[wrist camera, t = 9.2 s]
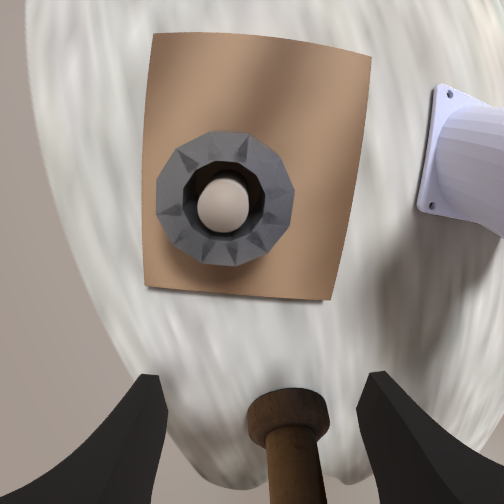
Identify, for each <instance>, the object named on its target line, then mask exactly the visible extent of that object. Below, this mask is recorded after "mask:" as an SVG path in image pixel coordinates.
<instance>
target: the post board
mask: <svg viewBox="0 0 504 504" xmlns="http://www.w3.org/2000/svg"><path fill="white" fill-rule="evenodd" d="M371 59H372V57H370V56H367V55H363V54H359V53H355V52H351V51H347V50H343V49H338V48H334V47H329V46H324V45H319V44H314V43H309V42H303V41H297V40H290V39H283V38H275V37H267V36H257V35H246V34H232V33H204V32H184V33H157V34H153V41H152V48H151V55H150V63H149V72H148V81H147V91H146V102H145V115H144V131H143V152H142V244H143V265H144V281H145V286H152V287H162V288H171V289H181V290H192V291H202V292H213V293H225V294H237V295H250V296H263V297H278V298H294V299H311V300H331V296H332V292H333V288H334V284H335V280H336V276H337V272H338V268H339V263H340V259H341V255H342V250H343V246H344V241H345V236H346V232H347V227H348V222H349V217H350V212H351V207H352V201H353V196H354V190H355V185H356V179H357V173H358V167H359V161H360V154H361V148H362V141H363V133H364V126H365V118H366V110H367V101H368V92H369V82H370V71H371ZM218 129H219V130H232V131H244V132H249V133H251V134H252V135H254V136H255V137H256V138H258V139H259V140H261V141H262V142H263V143H265V144H266V145H268V146H269V147H270V148H272V149H273V150H274V151H275V152H276V153H277V154H278V155H279V156H280V157H281V159H282V162H283V164H284V166H285V169H286V171H287V173H288V176H289V178H290V180H291V183H292V185H293V188H294V190H295V194H294V201H293V208H292V215H291V221H290V227H289V228H288V229H287V230H286V232H285V233H284V234H283V235H282V237H281V238H280V239H279V240H278V242H277V243H276V244H275V245H274V246H273V248H272V249H271V250H270V251H269V253H268V254H265V255H263V256H260V257H258V258H255V259H253V260H251V261H248V262H246V263H243V264H241V265H238V266H225V265H213V264H202V263H200V262H198V261H197V260H195V259H194V258H192V257H191V256H189V255H187V254H186V253H184V252H183V251H181V250H180V249H178V248H177V247H175V246H173V245H172V243H171V241H170V240H169V238H168V236H167V234H166V233H165V231H164V229H163V227H162V225H161V223H160V222H159V220H158V218H157V216H156V179H157V177H158V176H159V174H160V172H161V171H162V169H163V168H164V166H165V164H166V163H167V161H168V160H169V158H170V157H171V155H172V153H173V152H174V150H175V149H176V148H177V147H179V146H181V145H183V144H185V143H187V142H189V141H191V140H193V139H195V138H197V137H199V136H201V135H203V134H205V133H208V132H210V131H214V130H218ZM260 186H261V183H260V181H259V179H258V177H257V175H256V174H254V173H253V172H251V171H250V170H249V169H247V168H246V167H244V166H243V165H241V164H240V163H238V162H228V161H216V160H215V161H213V162H211V163H209V164H207V165H205V166H203V167H201V168H200V170H199V171H198V173H197V182H196V191H197V193H198V195H199V197H200V198H199V201H198V206H197V208H198V214H199V217H200V219H201V221H202V222H203V223H204V225H205V226H207V227H208V228H209V229H211V230H213V231H216V232H230V231H233V230H235V229H237V228H239V227H240V226H241V225H242V224H243V223H244V221H245V220H246V218H247V215H248V211H249V209H250V207H251V206H252V205H253V203H254V202H255V201H256V199H257V198H258V197H259V195H260Z"/></svg>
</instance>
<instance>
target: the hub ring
mask: <svg viewBox="0 0 504 504" xmlns="http://www.w3.org/2000/svg"><path fill="white" fill-rule="evenodd" d="M215 160H216V161H228V162H238V163H240V164H241V165H243V166H244V167H246V168H247V169H249V170H250V171H251V172H253V173H254V174H256V175H257V177H258V179H259V181H260V183H261V186H260V195H259V197H258V198H257V199H256V201H255V202H254V203H253V205H252V206H251V207H250V209H249V211H248V215H247V218H246V220H245V221H244V223H243V224H242V225H241V226H240V227H239V228H237V229H235V230H233V231H230V232H216V231H213V230H211V229H209V228H208V227H207V226H205V225H204V223H203V222H202V221H201V219H200V217H199V214H198V208H197V206H198V201H199V198H200V197H199V195H198V193H197V191H196V182H197V173H198V171H199V170H200V168H201V167H203V166H205V165H207V164H209V163H211V162H213V161H215ZM294 194H295V190H294V188H293V185H292V183H291V180H290V178H289V176H288V173H287V171H286V169H285V166H284V164H283V162H282V159H281V157H280V156H279V155H278V154H277V153H276V152H275V151H274V150H273V149H272V148H270V147H269V146H268V145H266V144H265V143H263V142H262V141H261V140H259V139H258V138H256V137H255V136H254V135H252V134H251V133H249V132H244V131H232V130H219V129H218V130H214V131H210V132H208V133H205V134H203V135H201V136H199V137H197V138H195V139H193V140H191V141H189V142H187V143H185V144H183V145H181V146H179V147H177V148H176V149H175V150H174V152H173V153H172V155H171V157H170V158H169V160H168V161H167V163H166V164H165V166H164V168H163V169H162V171H161V172H160V174H159V176H158V177H157V179H156V216H157V218H158V220H159V222H160V223H161V225H162V227H163V229H164V231H165V233H166V234H167V236H168V238H169V240H170V241H171V243H172V245H173V246H175V247H177V248H178V249H180V250H181V251H183V252H184V253H186V254H187V255H189V256H191V257H192V258H194V259H195V260H197V261H198V262H200V263H202V264H213V265H225V266H238V265H241V264H243V263H246V262H248V261H251V260H253V259H255V258H258V257H260V256H263V255H265V254H268V253H269V251H270V250H271V249H272V248H273V246H274V245H275V244H276V243H277V242H278V240H279V239H280V238H281V237H282V235H283V234H284V233H285V232H286V230H287V229H288V228H289V227H290V221H291V215H292V208H293V201H294Z"/></svg>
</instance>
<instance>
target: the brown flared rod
mask: <svg viewBox="0 0 504 504" xmlns="http://www.w3.org/2000/svg"><path fill="white" fill-rule="evenodd" d="M329 426H330V419H329V414H328V410H327V405H326V402H325V400H324V398H323V397H322V396H321V395H320V394H318V393H316V392H314V391H312V390H308V389H304V388H286V389H281V390H278V391H274V392H270V393H267V394H265V395H263V396H261V397H259V398H258V399H257V400H255V401H254V402H253V403H252V405H251V406H250V408H249V411H248V430H249V436H250V438H251V440H252V441H253V442H254V443H256V444H257V445H259V446H261V447H263V448H265V449H266V451H267V464H268V477H269V491H270V504H327V499H326V493H325V487H324V482H323V476H322V470H321V465H320V459H319V453H318V447H317V442H318V441H319V440H320V438H321V437H323V436H324V435H325V433H326V432H327V431H328V429H329Z"/></svg>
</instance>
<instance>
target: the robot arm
mask: <svg viewBox="0 0 504 504" xmlns="http://www.w3.org/2000/svg"><path fill="white" fill-rule="evenodd" d="M447 91H448V92H449V94H450V97H449V98H448V96H447ZM431 202H432V207H431V208H429V204H430V203H431ZM417 208H418V209H419V210H420V211H421V212H424V213H429V214H434V215H439V216H445V217H450V218H455V219H460V220H465V221H469V222H474V223H479V224H480V225H482V226H484V227H485V228H487V229H489V230H490V231H492V232H494V233H495V234H497V235H498V236H500V237H502V238H503V239H504V108H502V107H491V106H489V105H488V104H486V103H484V102H482V101H480V100H478V99H476V98H474V97H471V96H469V95H467V94H465V93H463V92H461V91H458V90H456V89H454V88H452V87H449V86H447V85H445V84H437V85H436V86H435V88H434V96H433V106H432V115H431V124H430V131H429V139H428V145H427V152H426V158H425V164H424V169H423V175H422V180H421V185H420V190H419V194H418V199H417ZM356 411H357V417H358V423H359V428H360V433H361V436H362V439H363V442H364V445H365V448H366V451H367V455H368V458H369V461H370V464H371V467H372V470H373V473H374V476H375V479H376V484H377V488H378V493H379V499H380V504H504V466H503V465H500V464H498V463H496V462H494V461H492V460H490V459H488V458H486V457H484V456H482V455H481V454H479V453H477V452H476V451H474V450H472V449H471V448H469V447H468V446H466V445H465V444H463V443H462V442H460V441H459V440H458V439H456V438H455V437H453V436H452V435H451V434H450V433H448V432H447V431H446V430H445V429H443V428H442V427H441V426H440V425H439V424H438V423H436V422H435V421H434V420H433V419H432V418H431V417H430V416H429V415H428V414H427V413H426V412H424V411H423V410H422V409H421V408H420V407H419V406H418V405H417V404H416V403H415V402H414V401H413V400H412V399H411V398H410V397H409V395H408V394H407V393H406V392H405V391H404V390H403V389H402V388H401V387H400V386H399V385H398V384H397V383H396V382H395V381H394V380H393V379H392V378H391V377H390V376H389V375H388V374H387V373H386V372H385V371H380V372H372V373H369V376H368V378H367V381H366V384H365V387H364V389H363V392H362V394H361V397H360V400H359V402H358V405H357V407H356ZM167 418H168V409H167V405H166V402H165V398H164V394H163V390H162V387H161V383H160V379H159V375H149V374H141V375H140V376H139V377H138V378H137V380H136V381H135V382H134V384H133V385H132V387H131V388H130V389H129V391H128V392H127V393H126V394H125V396H124V397H123V398H122V400H121V401H120V402H119V404H118V405H117V406H116V407H115V408H114V410H113V411H112V412H111V413H110V414H109V416H108V417H107V418H106V419H105V420H104V421H103V423H102V424H101V425H100V426H99V427H98V428H97V429H96V430H95V431H94V432H93V433H92V434H91V436H90V437H89V438H88V439H87V440H86V441H85V442H84V443H83V444H81V445H80V446H79V447H78V448H77V449H76V450H75V451H74V452H73V453H72V454H71V455H69V456H68V457H67V458H66V459H64V460H63V461H62V462H60V463H59V464H58V465H57V466H55V467H54V468H53V469H51V470H50V471H48V472H47V473H45V474H44V475H42V476H40V477H39V478H37V479H36V480H34V481H32V482H31V483H29V484H27V485H25V486H24V487H22V488H20V489H17V490H15V491H13V492H11V493H9V494H6V495H4V496H2V497H0V504H150V503H151V495H152V490H153V485H154V480H155V476H156V472H157V468H158V464H159V459H160V456H161V452H162V448H163V444H164V439H165V434H166V427H167Z"/></svg>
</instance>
